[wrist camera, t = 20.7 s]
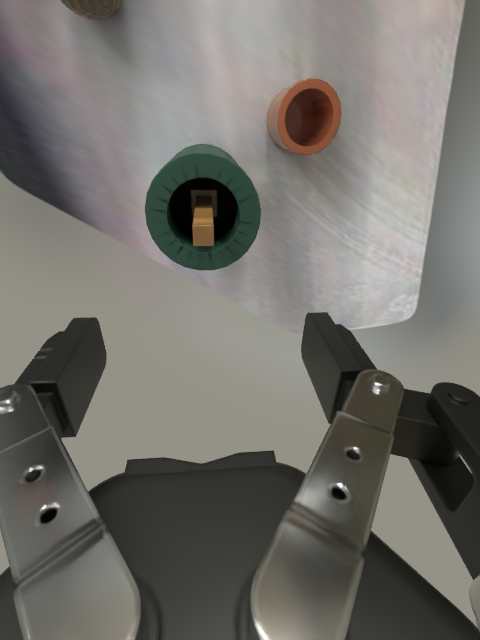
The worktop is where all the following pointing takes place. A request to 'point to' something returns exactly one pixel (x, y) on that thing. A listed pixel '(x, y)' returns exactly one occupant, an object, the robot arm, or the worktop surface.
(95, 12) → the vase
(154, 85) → the worktop surface
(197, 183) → the brush
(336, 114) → the cup
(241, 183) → the green tube sleeve
